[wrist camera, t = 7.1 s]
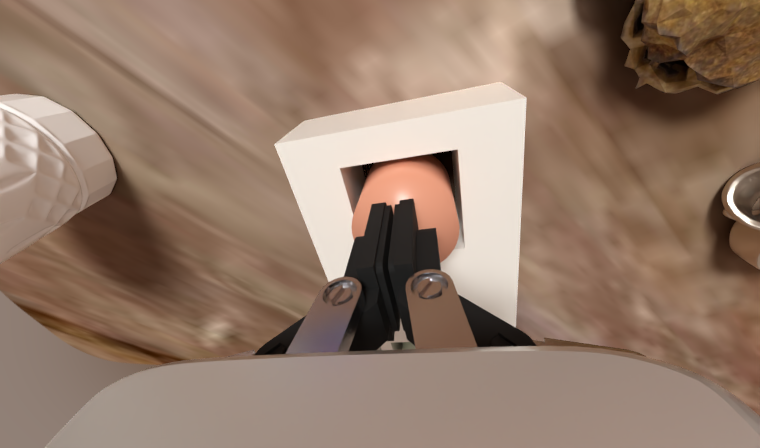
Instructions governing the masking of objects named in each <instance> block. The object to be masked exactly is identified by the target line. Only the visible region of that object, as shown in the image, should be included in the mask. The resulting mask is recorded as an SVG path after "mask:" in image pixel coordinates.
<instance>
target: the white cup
mask: <svg viewBox="0 0 760 448" xmlns="http://www.w3.org/2000/svg"><path fill="white" fill-rule="evenodd" d="M116 180H117V175H116V171H115V166H114V161H113V157H112V156H111V154H110V152H109V151H108V149H107V148H106V146H105V145H104V143H103V141H102V140H101V138H100V137H99V135H98V134H97V133H96V132H95V131H94V130H93V129H92V128H91V127H90V126H89V125H87V124H86V123H85V122H84V121H83V120H82V119H81V118H80V117H79V116H78V115H76V114H75V113H74V112H73V111H71V110H69V109H67V108H65V107H64V106H62V105H60V104H58V103H56V102H54V101H52V100H50V99H48V98H46V97H43V96H34V95H25V94H10V95H1V96H0V264H1V263H3V262H4V261H6V260H8V259H9V258H11V257H13V256H14V255H16V254H18V253H19V252H21V251H23V250H24V249H26V248H27V247H29V246H30V245H32V244H33V243H35V242H36V241H38V240H39V239H41V238H43V237H44V236H46V235H47V234H49V233H51V232H52V231H54V230H56V229H57V228H59V227H60V226H62V225H63V224H65V223H67V222H68V221H69V220H70V219H71V218H72V217H73V216H74V215H75V214H77V213H79V212H81V211H82V210H84V209H86V208H87V207H89V206H91V205H93V204H94V203H96V202H98V201H99V200H101V199H103V198H105V197H106V196H108V195H109V194H111V192H112V189H113V187H114V185H115V182H116Z"/></svg>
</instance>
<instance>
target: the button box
mask: <svg viewBox="0 0 760 448" xmlns="http://www.w3.org/2000/svg"><path fill="white" fill-rule="evenodd" d="M525 120H526V97H525V96H523V95H521V94H520V93H518V92H517V91H515V90H513V89H512V88H510V87H508V86H507V85H505V84H504V83H502V82H497V83H492V84H487V85H482V86H477V87H472V88H467V89H462V90H457V91H452V92H447V93H441V94H436V95H431V96H426V97H421V98H416V99H411V100H406V101H401V102H396V103H391V104H386V105H381V106H376V107H371V108H366V109H361V110H356V111H351V112H345V113H340V114H335V115H330V116H325V117H320V118H315V119H310V120H305V121H303V122H302V123H301V124H299V125H298V126H297V127H296V128H294V129H293V130H292V131H291V132H289V133H288V134H287V135H285V136H284V137H283V138H282V139H280V140H279V141H278V142H277V143H275V144H274V145H275V147H276V150H277V152H278V155H279V157H280V160H281V162H282V165H283V167H284V170H285V172H286V175H287V178H288V180H289V183H290V185H291V188H292V190H293V193H294V195H295V198H296V200H297V203H298V205H299V208H300V210H301V213H302V215H303V218H304V221H305V223H306V226H307V228H308V231H309V233H310V236H311V238H312V241H313V243H314V246H315V248H316V251H317V253H318V256H319V259H320V261H321V264H322V266H323V269H324V271H325V274H326V276H327V279H328V281H329V282H330V281H332V280H334V279H337V278H340V277H344V274H345V271H346V267H347V264H348V260H349V257H350V253H351V250H352V247H353V243H354V239H353V235H352V227H351V226H352V219H353V215H354V212H355V209H356V206H357V203H358V201H359V198H360V195H361V192H362V189H363V186H364V184H365V181H366V179H365V175H364V171H363V167H362V165H363V164H369V163H376V162H382V161H388V160H394V159H401V158H407V157H413V156H419V155H426V154H432V153H438V152H445V151H452V163H453V175H454V187H455V199H456V211H457V216H458V221H459V238H458V241H457V244H456V246H455V248H454V250H453V251H452V252H451V254H450V255H449V256H448V257H447V258H446V259H445V260H444V261H442V262H441V263H440V265H441V271H443V272H445V273H446V274H448V275H449V276H450V277H451V279H452V280H453V283H454V285H455V288H456V291H457V293H458V294H459V295H460V296H462V297H464V298H465V299H467V300H469V301H471V302H472V303H474V304H476V305H478V306H479V307H481V308H483V309H484V310H486V311H488V312H490V313H491V314H493V315H495V316H496V317H498V318H500V319H502V320H503V321H505V322H507V323H509V324H510V325H512V326H514V327H515V328H516V312H517V291H518V269H519V248H520V227H521V205H522V184H523V162H524V141H525ZM402 342H410V341H408V340H407V338H406V333H405V331H404V330H403V327H402V323H401V319H400V330H399V331H395V334H394V341H386V342H385V343H384V344H383V345H382V346H381V349H382V350H402Z"/></svg>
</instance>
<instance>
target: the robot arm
mask: <svg viewBox="0 0 760 448" xmlns="http://www.w3.org/2000/svg"><path fill="white" fill-rule="evenodd" d="M400 319H401V323H402V327H403V330H404V331H405V333H406V338H407V340H408V341H410V342H411V343H412V344H413V345H414V346H415V348H416V349H403V350H382V349H381V346H382V345H383V344H384V343H385V342H386V341H394V334H395V331H399V330H400ZM45 448H760V416H759V415H758V414H757V413H755V412H754V411H753V410H752V409H751V408H750V407H749V406H747V405H746V404H745V403H743V402H742V401H741V400H740V399H738V398H737V397H736V396H734V395H733V394H732V393H730V392H729V391H727V390H726V389H724V388H723V387H721V386H720V385H718V384H717V383H715V382H713V381H711V380H709V379H707V378H705V377H703V376H701V375H699V374H697V373H694V372H692V371H689V370H687V369H684V368H682V367H679V366H676V365H673V364H670V363H667V362H664V361H660V360H656V359H652V358H648V357H646V356H644V355H642V354H640V353H638V352H634V351H630V350H626V349H619V348H612V347H605V346H598V345H591V344H584V343H577V342H570V341H564V340H557V339H550V338H544V342H542V341H535V340H532V339H531V338H530V337H529V336H528V335H526V334H525V333H524V332H522V331H521V330H519V329H517V328H515V327H514V326H512V325H510V324H509V323H507V322H505V321H503V320H502V319H500V318H498V317H496V316H495V315H493V314H491V313H490V312H488V311H486V310H484V309H483V308H481V307H479V306H478V305H476V304H474V303H472V302H471V301H469V300H467V299H465V298H464V297H462V296H460V295H459V294H458V293H457V291H456V288H455V285H454V283H453V280H452V279H451V277H450V276H449V275H448V274H446V273H445V272H443V271H441V265H440V256H439V248H438V240H437V232H436V228H429V229H421V230H419V228H418V222H417V216H416V210H415V204H414V199H405V200H400V201H399V204H395V207H394V215H393V210H392V206H391V205H387V204H386V202H383V203H376V204H372V205H371V209H370V213H369V217H368V221H367V225H366V229H365V233H364V236H359V237H356V238H355V240H354V243H353V247H352V250H351V253H350V257H349V260H348V264H347V267H346V271H345V274H344V277H340V278H337V279H334V280H332V281H330V282H328V283H327V284H326V285H325V286H323V288H322V289H321V290H320V292H319V294H318V295H317V297H316V299H315V301H314V303H313V305H312V306H311V308H310V310H309V312H308V314H307V315H306V316H305V317H303V318H302V319H300V320H299V321H298V322H296V323H295V324H293V325H292V326H290V327H289V328H287V329H286V330H285V331H283V332H282V333H280V334H279V335H277V336H276V337H274V338H273V339H272V340H270V341H269V342H267V343H266V344H265V345H263V346H262V347H261V348H260V349H259V350H258V351H257V353H255V351H254V350H251V351H247V352H243V353H239V354H235V355H232V356H228V357H219V358H205V359H194V360H184V361H178V362H172V363H167V364H162V365H159V366H155V367H151V368H148V369H145V370H142V371H140V372H137V373H135V374H132V375H129V376H127V377H125V378H122V379H120V380H118V381H116V382H115V383H113V384H111V385H109V386H107V387H106V388H105V389H103V390H102V391H100V392H99V393H98V394H96V395H95V396H94V397H93V398H92V399H91V400H90V401H89V402H88V403H87V404H86V405H85V406H84V407H83V408H82V409H80V411H78V412H77V413H76V415H74V417H72V418H71V419H70V421H69V422H68V423H67V424H66V425H65V426H64V427H63V428H62V429H61V430H60V431H59V432H58V433H57V434H56V435H55V437H54V438H53V439H52V440H51V441H50V442H49V443H48V444H47V445H46V447H45Z"/></svg>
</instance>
